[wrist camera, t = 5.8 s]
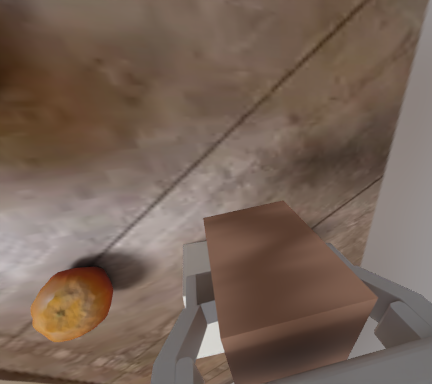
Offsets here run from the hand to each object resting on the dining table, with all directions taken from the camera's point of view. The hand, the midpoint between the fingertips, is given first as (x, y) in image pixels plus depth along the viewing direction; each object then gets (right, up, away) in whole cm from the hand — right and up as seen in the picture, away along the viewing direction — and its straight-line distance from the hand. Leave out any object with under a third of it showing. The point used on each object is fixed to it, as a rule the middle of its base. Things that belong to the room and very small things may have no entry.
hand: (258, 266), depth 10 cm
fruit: (-20, -8, +15) cm, 27 cm away
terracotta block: (0, +1, +2) cm, 2 cm away
